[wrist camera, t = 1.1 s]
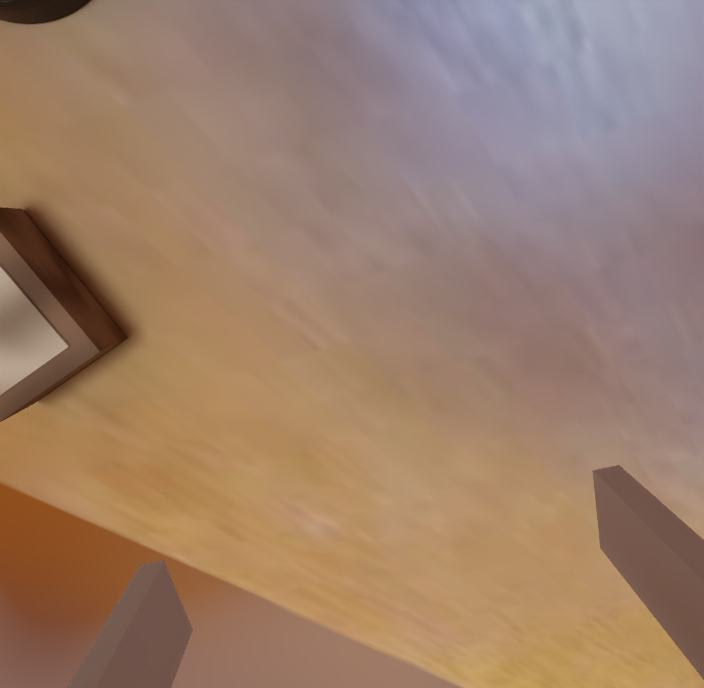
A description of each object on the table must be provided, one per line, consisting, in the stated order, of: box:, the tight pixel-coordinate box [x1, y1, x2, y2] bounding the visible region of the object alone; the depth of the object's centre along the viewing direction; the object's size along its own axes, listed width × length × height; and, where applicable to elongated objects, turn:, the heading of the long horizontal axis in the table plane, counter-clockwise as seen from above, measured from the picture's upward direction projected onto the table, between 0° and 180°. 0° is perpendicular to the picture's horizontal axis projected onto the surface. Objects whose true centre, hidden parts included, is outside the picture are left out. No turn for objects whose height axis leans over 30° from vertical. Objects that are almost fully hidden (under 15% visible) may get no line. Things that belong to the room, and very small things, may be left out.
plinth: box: [0, 208, 127, 422], centre depth 33 cm, size 12×10×4 cm
